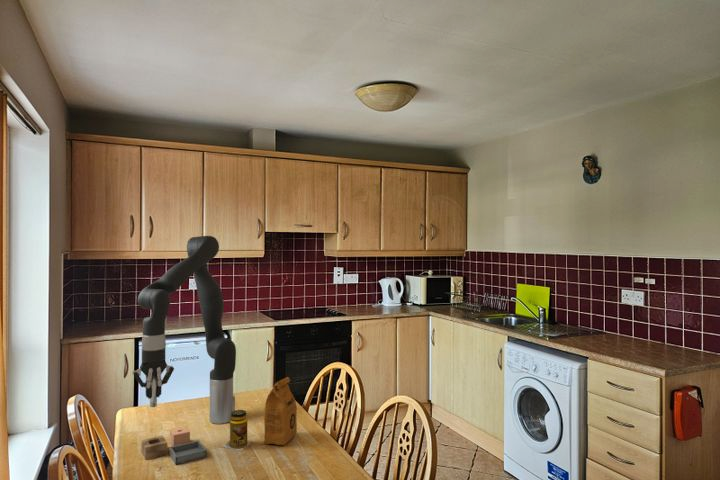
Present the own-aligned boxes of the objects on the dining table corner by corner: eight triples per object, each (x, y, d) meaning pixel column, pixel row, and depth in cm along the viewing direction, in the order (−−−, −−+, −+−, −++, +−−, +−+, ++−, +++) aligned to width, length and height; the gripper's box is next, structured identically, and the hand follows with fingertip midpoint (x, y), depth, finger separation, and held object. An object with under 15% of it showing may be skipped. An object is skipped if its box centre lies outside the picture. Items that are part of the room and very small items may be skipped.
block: (185, 440, 178) (185, 426, 178) (189, 445, 173) (189, 431, 173) (169, 443, 175) (170, 429, 175) (173, 449, 170) (173, 435, 170)
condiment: (241, 450, 170) (241, 416, 169) (220, 447, 172) (220, 413, 172) (252, 442, 176) (252, 409, 176) (232, 439, 179) (232, 406, 179)
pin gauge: (156, 404, 169) (156, 375, 169) (157, 406, 167) (157, 377, 167) (149, 405, 168) (149, 376, 167) (150, 407, 166) (150, 378, 166)
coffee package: (301, 435, 183) (301, 377, 182) (284, 449, 171) (284, 386, 171) (278, 431, 186) (278, 374, 186) (260, 444, 175) (260, 383, 174)
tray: (198, 447, 172) (198, 440, 172) (206, 457, 164) (206, 449, 164) (169, 454, 166) (169, 447, 166) (175, 464, 159) (175, 457, 159)
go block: (162, 446, 172) (162, 435, 172) (167, 454, 166) (167, 442, 166) (141, 451, 168) (141, 440, 168) (145, 459, 162) (145, 447, 162)
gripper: (172, 342, 174) (172, 391, 174) (130, 347, 166) (129, 397, 166) (177, 346, 168) (177, 397, 168) (133, 351, 160) (133, 404, 160)
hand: (153, 397), depth 167 cm, fingers closed on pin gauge, 2 cm apart
